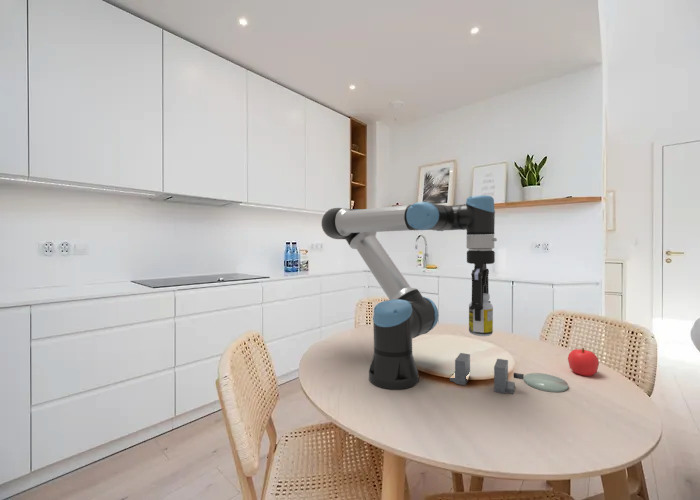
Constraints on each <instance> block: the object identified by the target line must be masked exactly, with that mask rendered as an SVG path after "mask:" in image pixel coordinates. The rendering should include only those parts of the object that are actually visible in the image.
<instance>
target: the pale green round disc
mask: <svg viewBox="0 0 700 500" xmlns="http://www.w3.org/2000/svg"><path fill="white" fill-rule="evenodd" d="M523 381H524V383H525V384H526V385H528V386H529V387H531V388H533V389H536V390H539V391H542V392H543V391H544V392H550V393H562V392H566V391H567V390H568V389H569V384H568V382H567V381H566V380H565V379H563V378H560V377H558V376H556V375H552V374H547V373H539V372H532V373H527V374H525V375H524V380H523Z"/></svg>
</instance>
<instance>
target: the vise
mask: <svg viewBox="0 0 700 500" xmlns="http://www.w3.org/2000/svg"><path fill="white" fill-rule="evenodd" d="M454 371H455V378H450V377H449V381H450V382H453V383H455V385H460V386H466V385H467V383H468V381H469V380H467V379H466V376H467V375H468V374H469V372H470V373H471V354H470V353H464V352H460V353H459V354H458V356H457V357H456V358H455V360H454ZM493 374H494V375H493V376H494V377H493V381H494V383H493V385H494V386H493V390H494V391H493V392H494V393H495V392H496V393H500V394H504V395H505V394H506V393H509V394H514V391H515V387H516V386H515V382H514V381H509V360H508V359H503V358H497V359H496V361H495V363H494V366H493ZM524 376H525V375H524V374H523V373H517V372H513V379H518V380H522V381H524Z"/></svg>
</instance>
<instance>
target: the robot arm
mask: <svg viewBox="0 0 700 500" xmlns="http://www.w3.org/2000/svg"><path fill="white" fill-rule="evenodd" d="M495 213H496V210H495V198H494V197H493V196H491V195H472V196H468V197H467V198H466V201H465V203H464V204H457V205H455V204H454V205H446V204H445V205H444V204H437V203H431V202H428V201H418V202H415V203H413V204H402V205H394V206H382V207H373V208H364V209H363V208H362V209H360V208H359V209H358V208H354V209H353V208H346V207H334V208H330V209H328V210H327V211H326V212H325V213H324V214H323V216H322V218H321V228H322V231H323V232H324V234H325V235H326V236H327V237H329V238H331V239H334V240H345V241H346V242H347V243H348V246H349V247H350V248H351V249H353V250H356V251H357V252H358V254H359V255H360V257H361V258H362V260H363V262H365V265H366V266H367V267H368V269H369V271H370V272H371V273H372V276H373V277H374V278H375V280H376V281H377V283H378V285H379V286H380V288H381V289H382V290H383V292H384V294H385V295H386V296H387V298H388V300H384V301H381V302H378V303H377V304H375V306H374V308H373V317H372V322H373V323H372V324H373V349H374V351H373V356H372V359H371V362H370V366H369V368H368V380H369V382H370V383H371V384H373V385H374V386H377V387H380V388H383V389H387V390H403V389H408V388H411V387H414V386H415V385H417V384H418V382H419V370H418V366H417V364H416V361H415V357H414V355H413V354H414V353H413V339H415V338H417V337H419V336H422V335H425V334H428V333H429V332H430V331H431V330H433V329H434V328H436V326H437V324H438V321H439V310H438V308H437V305H436V303H435V302H434V301H433V300H432V299H430V298H428V297H425V296H423V295H422V294H421V292H420V290H419V289H418V288H417V287H415V288H414V287H411V285H410V284H409V283H408V281H407V280H406V278H405V277H404V275H403V274H402V272H401V271H400V270H399V268H398V267H397V265H396V263H394V261H393V259H392V258H391V257H390V255H389V254H388V253H387V251H386V249H385V248H384V247H383V245H382V243H380V241H379V240H378V238H377V233H380V232H381V233H382V232H403V231H437V232H443V231H461V230H463V231H465V230H466V249H468V250H467V251H466V263H468V264H470V265H471V264H473V267H474V268H473V269H472V271H471V302H472V305H471V306H470V309H473V332H481V333H483V332H484V309H483V293H486V294H489V273H490V272H489V271H490V269H489V268H487V265H492V264H494V263H495V261H496V260H495V256H496V255H495V254H496V253H495V251H494V250H493V249H495V242H497V240H498V239H497V238H496V237H495V224H496V223H495V222H496V221H495V220H496V219H495V217H496V214H495ZM489 295H490V294H489ZM476 303H477V304H476ZM489 303H491V301H490V300H489Z"/></svg>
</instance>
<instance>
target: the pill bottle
mask: <svg viewBox="0 0 700 500" xmlns="http://www.w3.org/2000/svg"><path fill="white" fill-rule="evenodd" d="M490 296H491V295H490V294H486V293H483V309H484V332H483V333H481V332H473V309H470V306H471V305H472V301H470V303H469V304H468V332H469V333H470V334H471V335H473V336H475V337H476V336H477V337H489V336H491V335H493V332H494V326H493V325H494V324H493V323H494V307H493V304H492V303H491V302H490V303H489V301H490V299H491V298H490ZM476 304H477V303H476Z"/></svg>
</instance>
